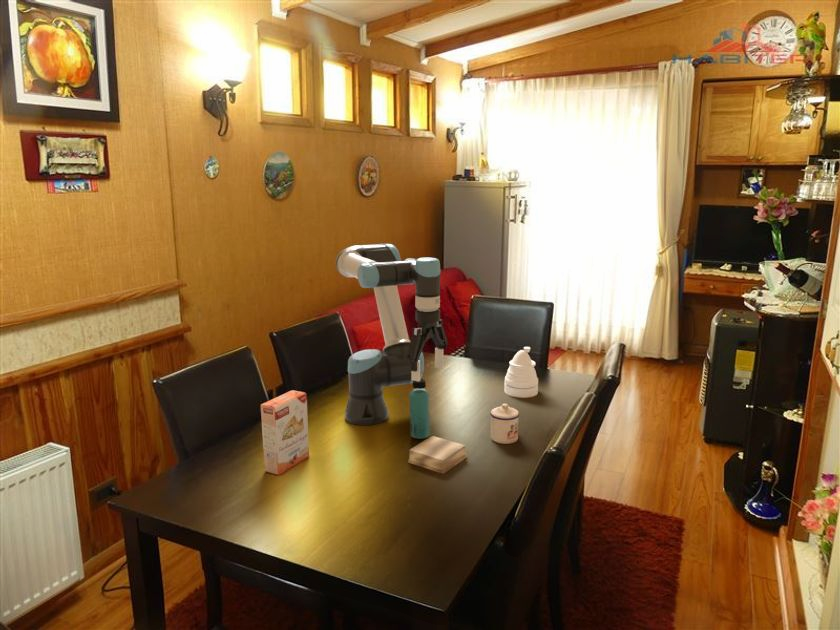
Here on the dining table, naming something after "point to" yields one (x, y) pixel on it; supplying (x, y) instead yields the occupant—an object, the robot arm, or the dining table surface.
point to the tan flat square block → (437, 454)
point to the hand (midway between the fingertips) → (427, 374)
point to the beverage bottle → (419, 410)
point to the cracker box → (285, 431)
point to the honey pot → (521, 376)
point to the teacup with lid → (504, 424)
